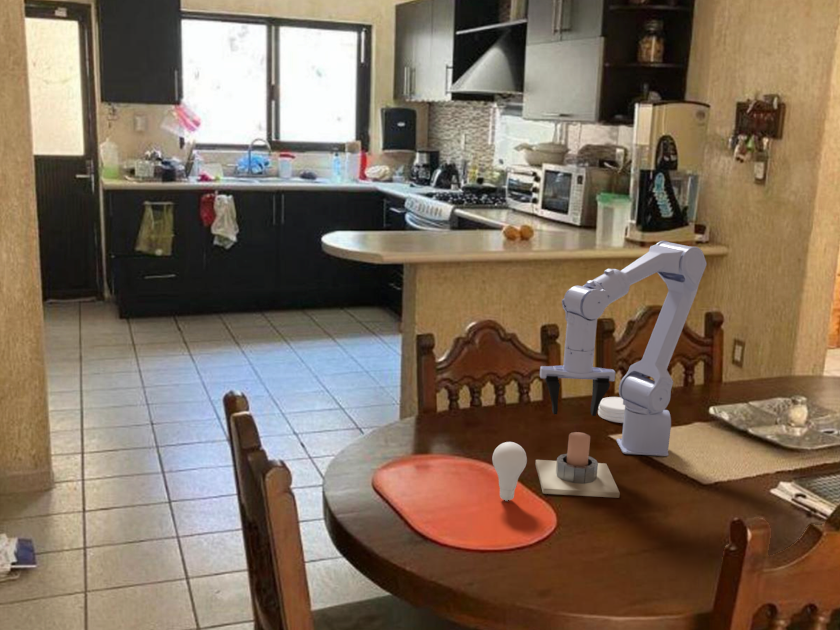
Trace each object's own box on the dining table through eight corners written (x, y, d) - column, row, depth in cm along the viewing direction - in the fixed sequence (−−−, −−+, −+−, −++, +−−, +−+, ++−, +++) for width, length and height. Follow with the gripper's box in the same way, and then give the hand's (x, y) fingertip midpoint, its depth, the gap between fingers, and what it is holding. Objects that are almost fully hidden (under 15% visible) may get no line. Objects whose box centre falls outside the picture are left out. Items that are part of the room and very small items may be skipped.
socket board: (605, 468, 178) (607, 449, 177) (619, 497, 164) (621, 477, 163) (535, 464, 178) (536, 445, 177) (543, 493, 164) (544, 473, 163)
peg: (580, 470, 173) (584, 431, 172) (590, 478, 170) (594, 438, 168) (561, 472, 172) (565, 433, 170) (571, 480, 168) (575, 440, 167)
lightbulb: (501, 510, 156) (505, 451, 154) (483, 496, 162) (487, 439, 159) (530, 504, 159) (534, 446, 157) (511, 491, 165) (515, 435, 162)
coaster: (608, 407, 217) (609, 393, 216) (647, 416, 211) (648, 402, 210) (590, 417, 209) (592, 403, 208) (631, 427, 203) (632, 412, 202)
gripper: (612, 343, 179) (605, 408, 182) (539, 340, 178) (534, 405, 181) (620, 353, 172) (613, 420, 175) (544, 350, 172) (539, 417, 175)
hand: (573, 413), depth 178 cm, fingers open, 7 cm apart
